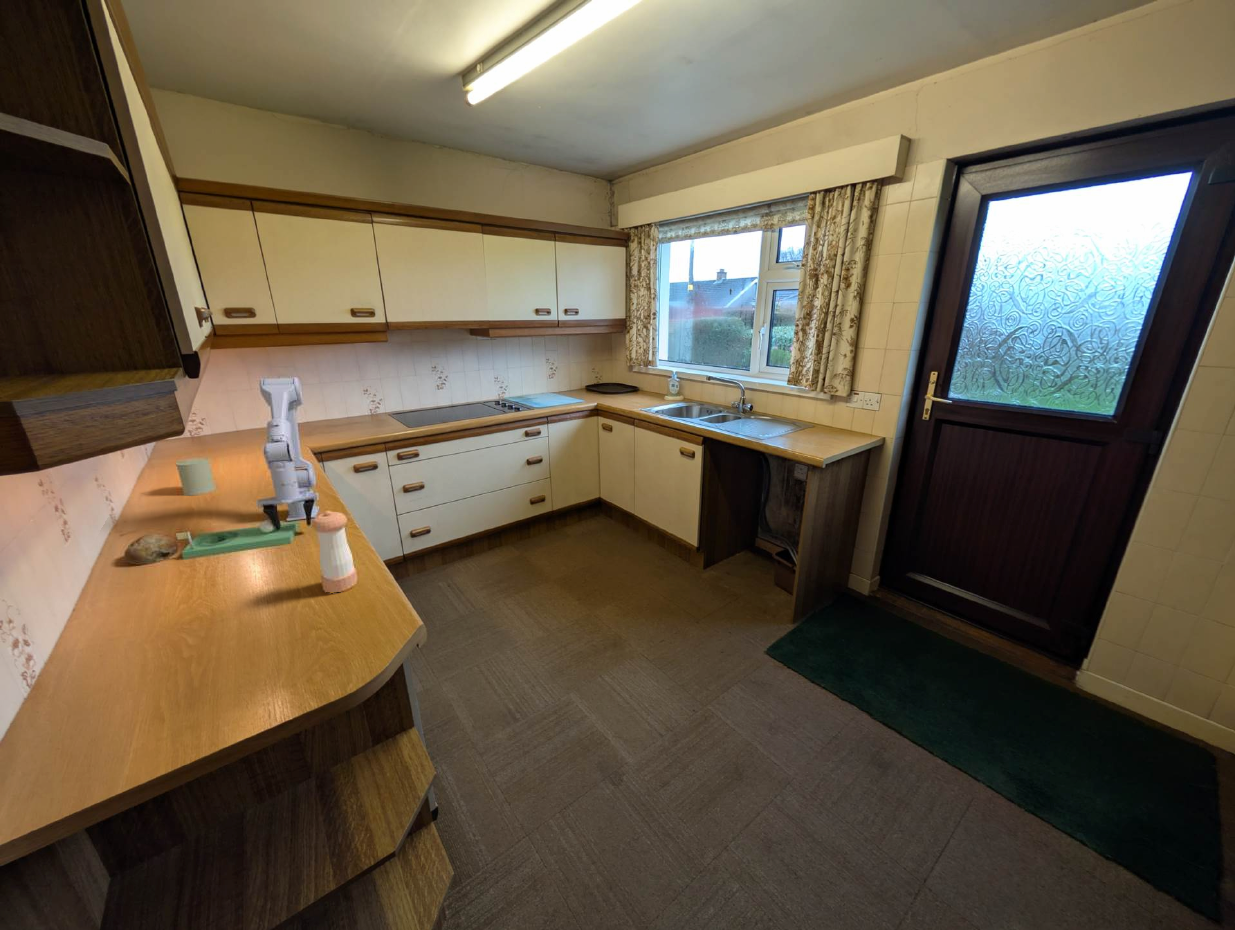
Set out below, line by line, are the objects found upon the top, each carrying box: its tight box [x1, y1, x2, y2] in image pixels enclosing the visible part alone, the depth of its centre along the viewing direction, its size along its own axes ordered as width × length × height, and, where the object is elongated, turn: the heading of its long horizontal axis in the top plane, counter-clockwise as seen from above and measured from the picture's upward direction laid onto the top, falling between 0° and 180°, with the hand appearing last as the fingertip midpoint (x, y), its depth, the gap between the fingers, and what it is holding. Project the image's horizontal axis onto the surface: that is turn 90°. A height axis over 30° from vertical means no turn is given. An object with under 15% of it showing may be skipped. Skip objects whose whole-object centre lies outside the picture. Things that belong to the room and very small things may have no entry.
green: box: [175, 520, 299, 560], centre depth 135 cm, size 12×24×7 cm, turn 114°
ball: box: [259, 519, 275, 533], centre depth 137 cm, size 4×4×4 cm
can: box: [175, 457, 217, 496], centre depth 173 cm, size 9×9×12 cm
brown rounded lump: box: [123, 533, 179, 566], centre depth 126 cm, size 10×10×8 cm
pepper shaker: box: [311, 510, 358, 593], centre depth 112 cm, size 7×7×19 cm
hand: (294, 526), depth 140 cm, fingers open, 7 cm apart
